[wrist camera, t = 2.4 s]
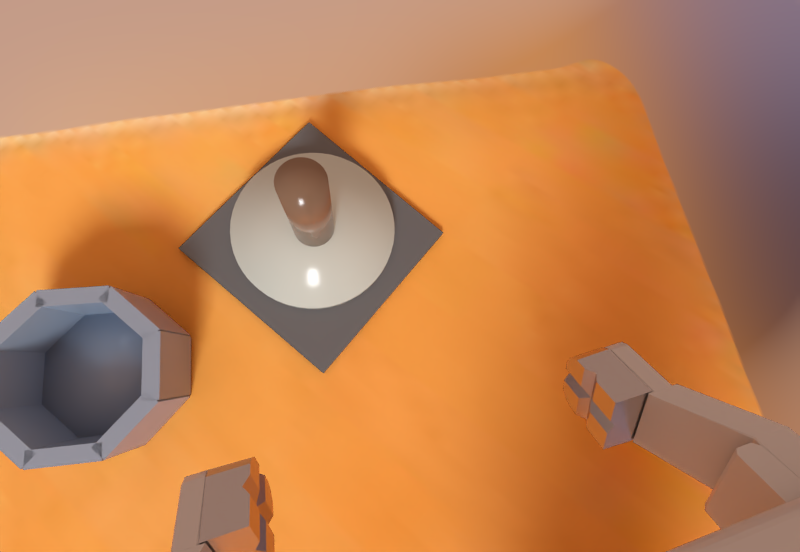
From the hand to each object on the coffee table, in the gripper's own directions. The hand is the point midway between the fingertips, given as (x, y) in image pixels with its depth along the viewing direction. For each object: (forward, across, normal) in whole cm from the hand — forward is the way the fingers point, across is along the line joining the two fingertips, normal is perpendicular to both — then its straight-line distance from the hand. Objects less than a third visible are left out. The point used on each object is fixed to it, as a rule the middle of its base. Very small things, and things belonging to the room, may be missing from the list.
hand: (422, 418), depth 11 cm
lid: (+23, +1, +6) cm, 24 cm away
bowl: (+19, +17, +11) cm, 28 cm away
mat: (+23, +2, +7) cm, 24 cm away
